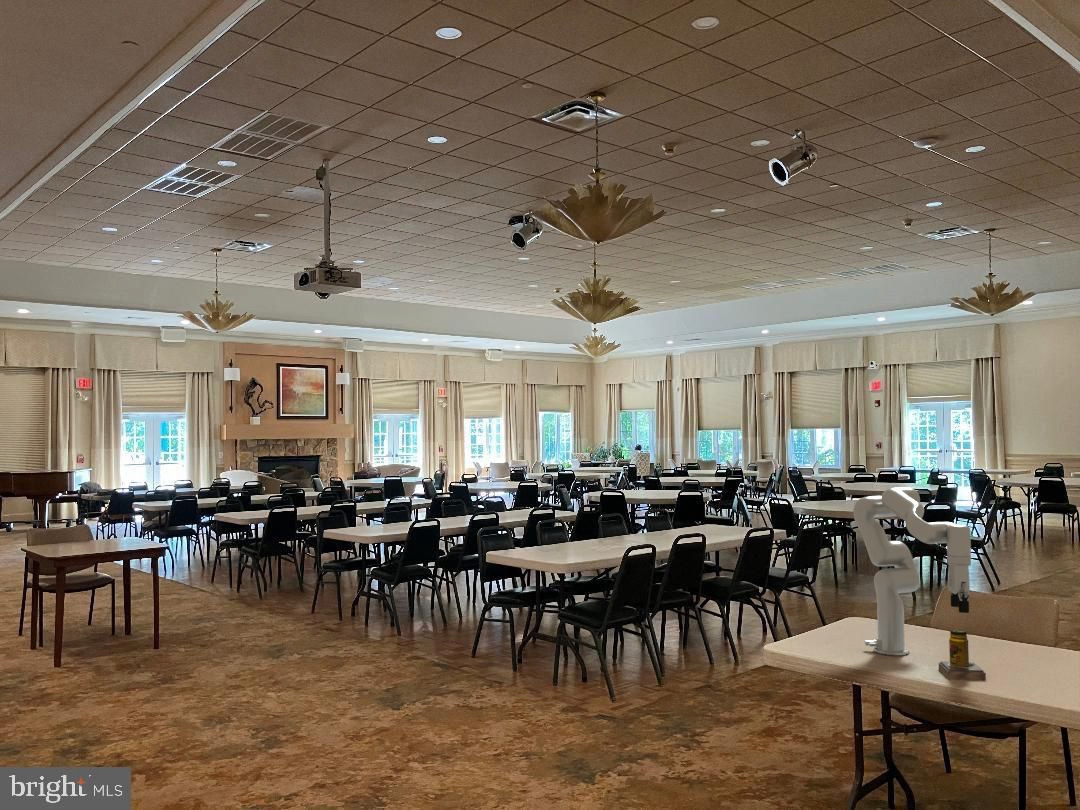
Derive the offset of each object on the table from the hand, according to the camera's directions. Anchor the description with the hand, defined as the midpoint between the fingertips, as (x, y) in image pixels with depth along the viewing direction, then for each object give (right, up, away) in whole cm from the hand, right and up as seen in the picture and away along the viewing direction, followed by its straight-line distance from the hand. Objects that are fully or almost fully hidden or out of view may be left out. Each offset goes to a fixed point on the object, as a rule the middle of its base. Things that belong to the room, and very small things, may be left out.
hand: (959, 609), depth 315 cm
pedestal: (0, -22, -1) cm, 22 cm away
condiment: (0, -20, 0) cm, 20 cm away
